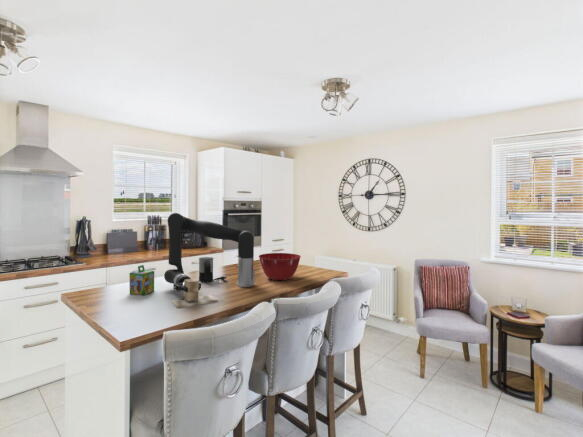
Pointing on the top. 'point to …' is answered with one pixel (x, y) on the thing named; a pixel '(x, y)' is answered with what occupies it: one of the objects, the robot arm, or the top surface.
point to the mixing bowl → (279, 265)
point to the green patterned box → (141, 281)
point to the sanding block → (191, 290)
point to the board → (200, 301)
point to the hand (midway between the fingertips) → (193, 289)
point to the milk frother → (207, 270)
